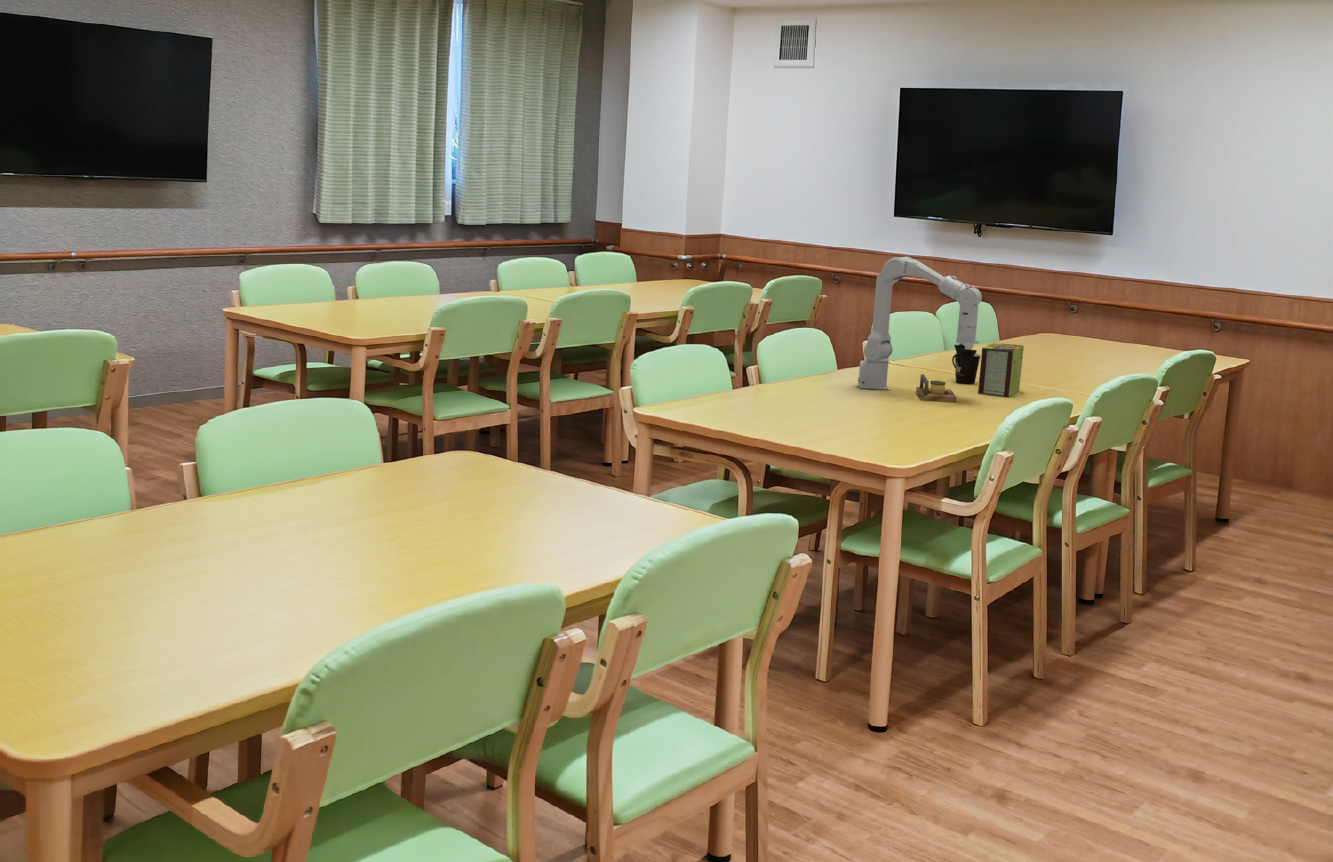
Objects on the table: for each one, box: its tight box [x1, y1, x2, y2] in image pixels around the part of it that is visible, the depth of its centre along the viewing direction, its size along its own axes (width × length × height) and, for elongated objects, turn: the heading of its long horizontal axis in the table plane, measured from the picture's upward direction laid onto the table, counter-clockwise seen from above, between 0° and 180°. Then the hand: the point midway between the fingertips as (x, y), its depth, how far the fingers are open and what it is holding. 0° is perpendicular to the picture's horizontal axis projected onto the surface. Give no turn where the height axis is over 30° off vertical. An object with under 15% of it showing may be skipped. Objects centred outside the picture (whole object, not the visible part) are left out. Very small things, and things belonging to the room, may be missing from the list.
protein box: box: [977, 342, 1025, 398], centre depth 400 cm, size 10×15×16 cm
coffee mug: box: [951, 352, 982, 385], centre depth 418 cm, size 12×9×10 cm
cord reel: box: [929, 380, 947, 394], centre depth 387 cm, size 5×5×5 cm
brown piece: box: [915, 373, 958, 403], centre depth 387 cm, size 11×15×6 cm
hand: (963, 369), depth 383 cm, fingers open, 7 cm apart
